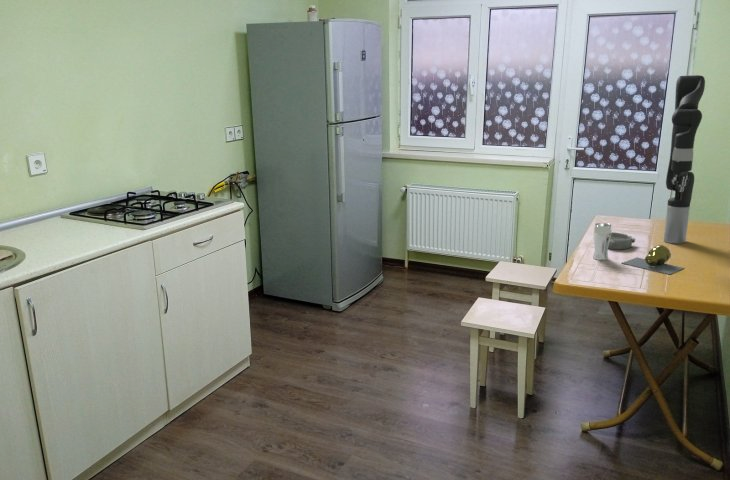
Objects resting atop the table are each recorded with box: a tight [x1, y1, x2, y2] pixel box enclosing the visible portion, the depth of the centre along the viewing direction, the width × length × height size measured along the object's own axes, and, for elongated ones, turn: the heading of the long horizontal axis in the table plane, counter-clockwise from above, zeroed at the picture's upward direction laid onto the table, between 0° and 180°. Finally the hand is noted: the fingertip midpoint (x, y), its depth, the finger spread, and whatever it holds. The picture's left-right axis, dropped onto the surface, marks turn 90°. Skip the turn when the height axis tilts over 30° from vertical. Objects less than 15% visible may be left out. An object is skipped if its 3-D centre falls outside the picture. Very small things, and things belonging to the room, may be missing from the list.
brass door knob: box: [644, 244, 672, 266], centre depth 241 cm, size 7×7×10 cm
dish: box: [608, 231, 636, 250], centre depth 271 cm, size 14×14×5 cm
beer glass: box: [592, 222, 612, 261], centre depth 252 cm, size 7×7×15 cm
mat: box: [621, 256, 685, 275], centre depth 242 cm, size 12×20×1 cm, turn 37°
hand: (677, 200), depth 245 cm, fingers closed
